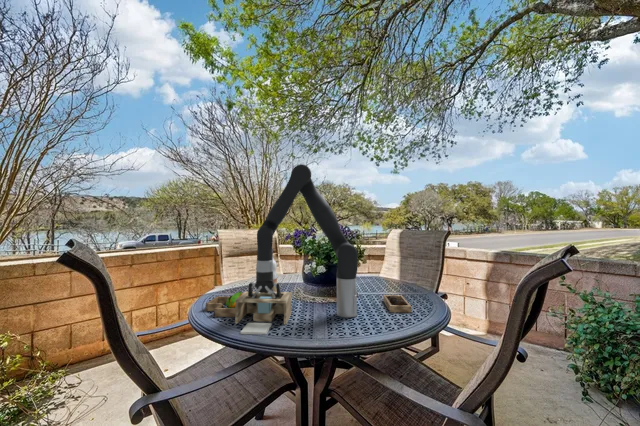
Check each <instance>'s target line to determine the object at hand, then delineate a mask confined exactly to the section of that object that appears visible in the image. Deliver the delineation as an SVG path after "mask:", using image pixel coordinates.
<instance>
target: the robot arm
mask: <svg viewBox="0 0 640 426" xmlns="http://www.w3.org/2000/svg"><path fill="white" fill-rule="evenodd" d="M299 192H300V194H301V196H302V197H303V198H304V200H305V202H306V205H307V207H308V209H309V211H310V213H311V215H312V216H313V218H314V220H315V222H316V223H317V225H318V226H319V228H320V229H321V231H322V233H324V235H325V236H326V238H327V239H328V241H329V243H330V245H331V247H332V249H333V251H334V254H335V257H336V258H337V269H336V270H337V271H336V315H337V316H338V317H341V318H354V317H358V304H357V303H358V301H357V300H358V295H357V275H358V274H357V273H358V267H359V265H358V264H359V263H358V259H359V258H358V257H359V256H358V250H357V248H356V247H355V246H354V245H353V244H351V243H350V242H349V241H348V239H347V238H346V237H345V235H344V233H343V231H342V230H341V227H340V225H339V221H338V219H337V217H336V215H335V212H334V210H333V209H332V207H331V205H330V203H328V201H327V200H326V199H325V197H323V195H322V194H321V193H320V192H319V191H318V189H317V187H316V186H315V184H314V181H313V179H312V170H311V169H310V167H309V165H306V164H302V163H301V164H298V165H296V166H294V167H293V168H292V171H291V173H290V176H289V180H288V181H287V183H286V185H285V187H284V189H283V191H282V193H280V195H279V196H278V198H277V199H276V201H275V202H274V204H273V205H272V207H271V208H270V210H269V212H268V213H267V216H266V218H265V220H264V221H263V223H262V224H261V226H260V227H259V228H258V230H257V232H256V244H257V246H256V247H257V251H256V265H255V266H256V267H255V274H256V275H255V282H252V281H251V282H250V283H248V291H247V292H248V296H249V297H252V299H257V297H256V295H257V294H258V293H259V292H260V293H269V294H270V295H271V296H272V297H273V299H276V298H277V297H279V296H280V295H281V292H282V291H281V283H280V282H277V283H275V284H274V283H273V258H274V249H273V242H274V241H273V240H274V238H273V237H274V234H275V233H276V231H277V228H279V225H280V224H281V223H282V222H283V220H284V218H285V217H286V215H287V214H288V212H289V210H290V208H291V206H292V204H293V202H294V201H295V199H296V197H297V195H298V194H299ZM272 249H273V250H272ZM273 286H275V288H277V294H275V292H274V290H273V289H272V288H273ZM254 287H255V288H256V290H255V291H254V290H253V288H254ZM252 292H255V293H254V294H253V293H252ZM252 304H253V305H254V306H256V304H257V303H252ZM275 305H276V303H272V306H273V307H274V306H275Z"/></svg>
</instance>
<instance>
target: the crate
mask: <svg viewBox="0 0 640 426" xmlns="http://www.w3.org/2000/svg"><path fill="white" fill-rule="evenodd" d="M255 292H256V291H253V292H252V293H253V294H254V293H255ZM280 292H281V295H280V296H279V297H277V298H276V299H273V297H272V296H271V295H270V294H269V293H260V292H259V293H258V294H257V295H256V297H257V299H252V297H249V296H248V291H244V292H242V293H243V294H242V295H241V296H240V297H238V298H237V299H236V300H235V317H234V319H235V320H234V321H235V322H234V323H235V324H239V323H240V322H241V320H242V319H243V318H244V317H245V316H246V315H247V314H252V315H253V316H252V317H253V320H252V321H253V322H266V323H272V321H273V320H274V318H275V317H276V315H283V325H287V324H288V321H289V319H290V317H291V316H292V292H291V291H290V292H289V291H280ZM275 294H277V292H275ZM260 297H272V299H259V298H260ZM252 303H257V304H256V306H254V305H253V304H252ZM258 303H271V311H270V313H258ZM272 303H276V305H275V306H274V307H273V306H272Z"/></svg>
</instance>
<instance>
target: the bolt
mask: <svg viewBox="0 0 640 426" xmlns="http://www.w3.org/2000/svg"><path fill="white" fill-rule="evenodd" d="M387 299H388V300H389V302H390V303H391V305H404V306H407V303H406V302H405V301H404V300H401V301H398V300H397V299H396V297H391V296H389V297H387Z"/></svg>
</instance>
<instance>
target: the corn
mask: <svg viewBox="0 0 640 426" xmlns="http://www.w3.org/2000/svg"><path fill="white" fill-rule="evenodd" d="M242 293H243V292H242V291H237V292H235V293H234V294H232V295H229V296H228V297H229V298H228V299H227V302H226V304H225V306H226V308H235V300H236V299H237V298H238V297H240V296H241V295H242Z"/></svg>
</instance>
